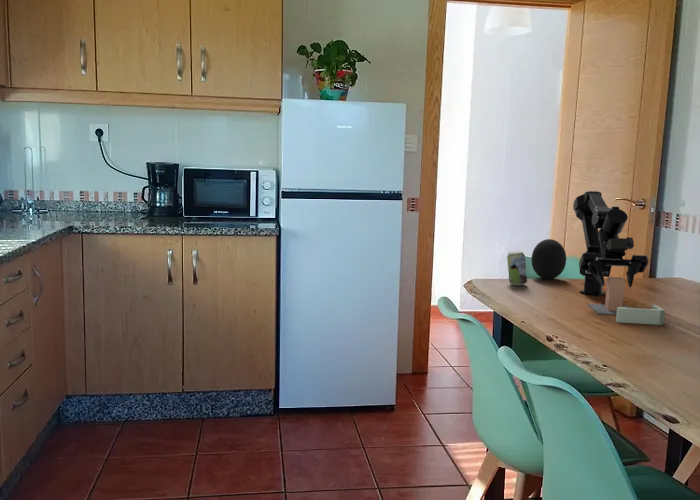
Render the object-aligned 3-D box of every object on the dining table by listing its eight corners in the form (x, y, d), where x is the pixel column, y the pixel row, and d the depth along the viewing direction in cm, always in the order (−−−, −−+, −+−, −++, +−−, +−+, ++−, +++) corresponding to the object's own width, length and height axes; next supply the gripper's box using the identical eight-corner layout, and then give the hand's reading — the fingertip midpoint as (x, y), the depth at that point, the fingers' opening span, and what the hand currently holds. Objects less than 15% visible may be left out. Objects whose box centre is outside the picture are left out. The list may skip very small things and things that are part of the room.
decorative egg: (530, 280, 226) (533, 240, 224) (529, 274, 238) (532, 236, 236) (565, 283, 223) (569, 242, 221) (563, 277, 235) (566, 238, 233)
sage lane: (610, 316, 177) (611, 302, 176) (654, 318, 175) (656, 304, 174) (617, 322, 170) (618, 308, 169) (663, 324, 168) (665, 310, 168)
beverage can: (527, 287, 214) (530, 253, 212) (505, 286, 215) (508, 252, 213) (526, 284, 220) (528, 250, 218) (505, 282, 221) (507, 249, 220)
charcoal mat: (587, 304, 190) (587, 303, 190) (628, 306, 189) (628, 305, 189) (597, 314, 178) (597, 313, 178) (641, 316, 177) (641, 315, 177)
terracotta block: (604, 307, 186) (607, 276, 184) (618, 308, 185) (621, 277, 184) (608, 310, 182) (610, 278, 181) (622, 311, 182) (625, 279, 180)
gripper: (584, 226, 185) (590, 268, 176) (649, 228, 183) (659, 272, 173) (576, 248, 194) (581, 289, 185) (638, 251, 192) (647, 293, 182)
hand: (617, 285), depth 181 cm, fingers open, 7 cm apart
